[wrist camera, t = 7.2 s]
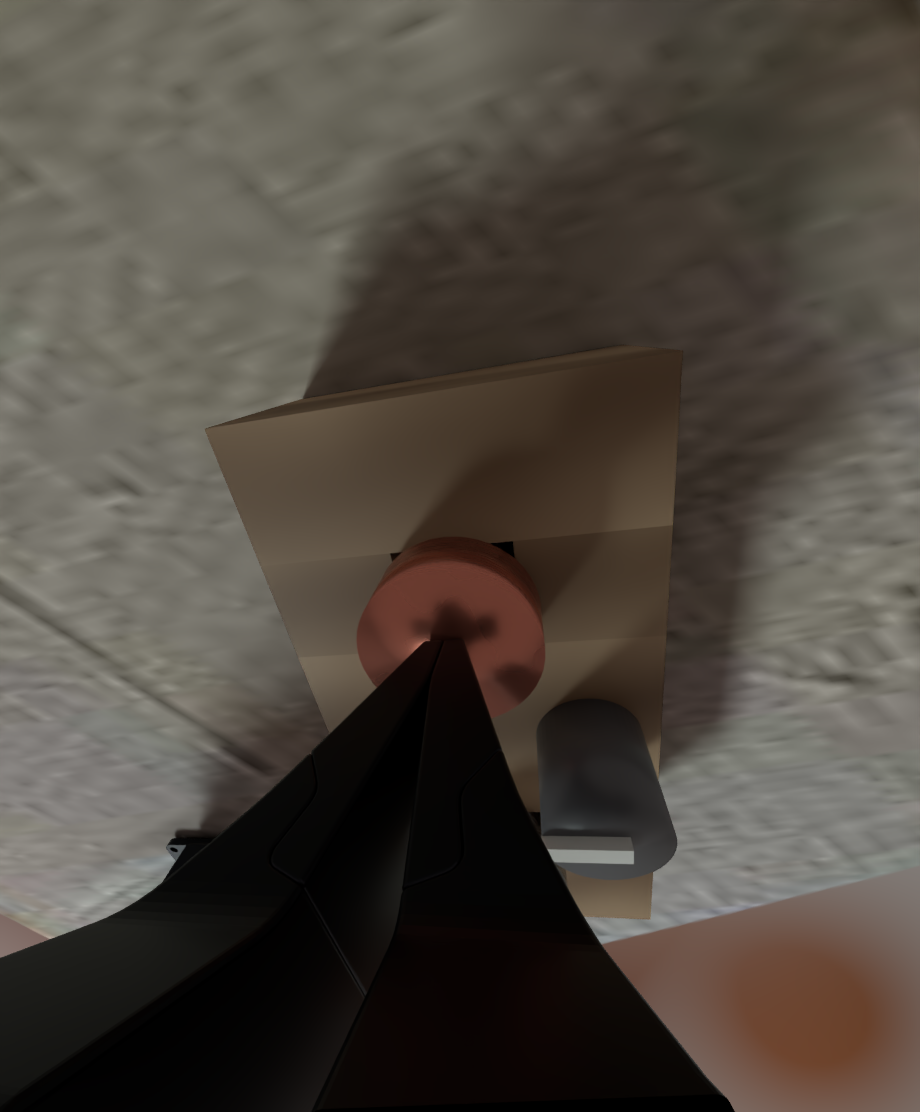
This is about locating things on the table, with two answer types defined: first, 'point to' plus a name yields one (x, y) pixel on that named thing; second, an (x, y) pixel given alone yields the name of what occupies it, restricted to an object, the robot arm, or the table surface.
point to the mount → (482, 527)
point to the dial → (600, 793)
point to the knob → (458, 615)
